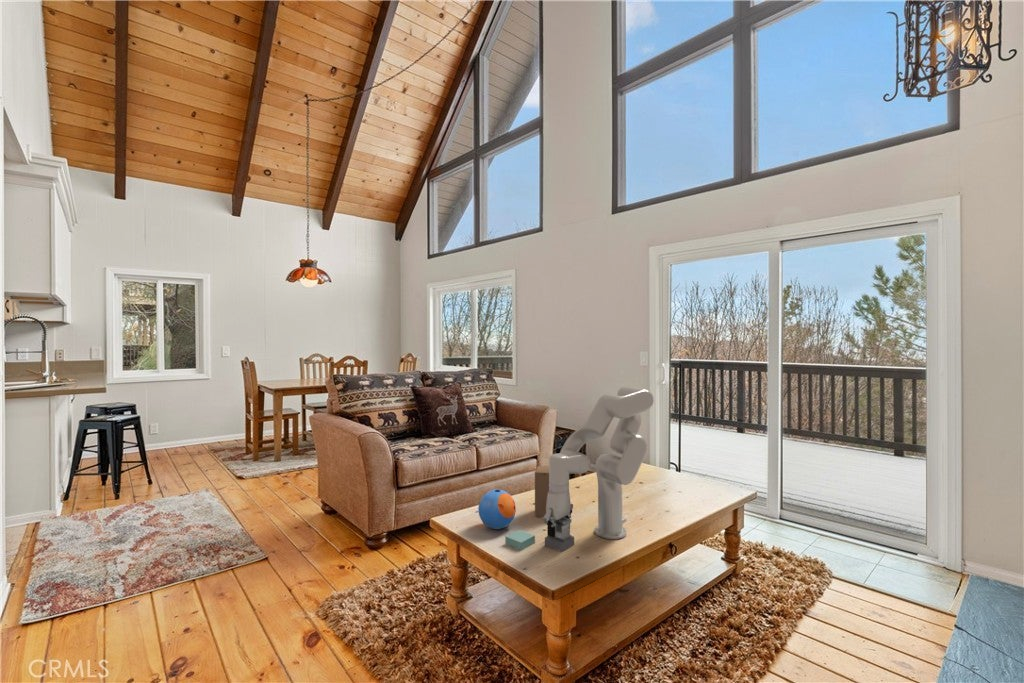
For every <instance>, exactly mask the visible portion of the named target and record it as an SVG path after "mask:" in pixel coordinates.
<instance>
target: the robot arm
mask: <svg viewBox="0 0 1024 683" xmlns="http://www.w3.org/2000/svg"><path fill="white" fill-rule="evenodd" d="M654 401H655V400H654V395H653V394H652V392H651V391H649V390H648V389H644V388H639V387H634V386H623V387H620V388H619V389H618V391H617V394H616V395H615V394H611V393H607V394H603V395H601V396H600V397H599V398H598V400H597V401H596V404H595V405H594V407H593V408H592V410H591V412H590V414H589V415H588V417H587V419H586V421H585V422H584V423H583V425H582V426H580V427H578V429H576V430H575V431H574V432H573V433H571V434H570V435H569V437H567V439H566V440H565V442H564V444H563V446H562V447H561V449H560V452H559V453H553V454H551V455H550V456H549V458H548V459H549V460H548V466H549V492H548V496H547V504H546V514H545V516H544V518H543V519H544V523H545V524H546V528H547V536H551V537H555V526H554V525H555V522H556V520H558V519H561V518H563V517H565V518H568V519H572V513H573V509H574V504H573V503H571V493H570V474H579V475H581V474H585V473H586V472H587V471H589V470H590V468H591V465H592V464H591V460H590V458H589V457H588V456H587V455H586V454H584V453H582V452H580V450H581V448H582V447H583V446H584V445H585V444H586V443H588V442H590V441H592V440H593V441H594V440H596V439H599V438H602V437H603V436H605V434H606V432H607V430H608V428H609V426H610V424H611V422H612V421H613V420H614V418H616V419H619V420H618V423H617V425H616V427H615V429H614V432H613V433H612V435H611V437H610V440H609V447H610V449H611V450H612V451H613V452H615V453H617V454H620V455H621V457H620V456H618V455H615V454H612V453H603V454H600V455H599V456H598V457H597V459H596V461H595V471H596V472H595V474H596V479H597V492H598V493H597V512H598V513H597V518H598V519H597V525H596V526H595V527H594V530H593V531H594V533H595V535H596V536H598V537H600V538H602V539H605V540H606V539H607V540H619V539H622V538H624V537H625V536H627V530H626V529H625V527H623V525H624V523H626V522H627V518H626V517H624V516H623V487H622V486H627V485H630V484H631V483H632V482H633V481H634V480H635V478H636V476H637V474H638V472H639V470H640V467H641V466H642V463H643V461H644V459H645V457H646V455H647V450H648V449H647V446H648V445H647V441H646V439H645V438H644V437H643V436H642V435H640V434H638V432H639V430H640V427H641V425H642V416H641V413H644V412H646V411H648V410H650V409H651V407H652V406H653V404H654ZM552 516H553V517H554V518H553V517H552ZM551 519H552V520H553V521H552V522H551Z"/></svg>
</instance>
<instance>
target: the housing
mask: <svg viewBox="0 0 1024 683" xmlns="http://www.w3.org/2000/svg"><path fill="white" fill-rule="evenodd" d="M552 517H553V516H552ZM553 518H554V517H553ZM552 521H553V520H552V519H551V522H552ZM571 523H572V518H570V519H568V518H565V517H563V518H561V519H558V520H556V522H555V525H554V526H555V537H551V536H548V535H547V536H548V537H550V538H553V539H556V540H559V541H561V542H565V541H567V540H569V539H570V538H572V536H573V535H571Z"/></svg>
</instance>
